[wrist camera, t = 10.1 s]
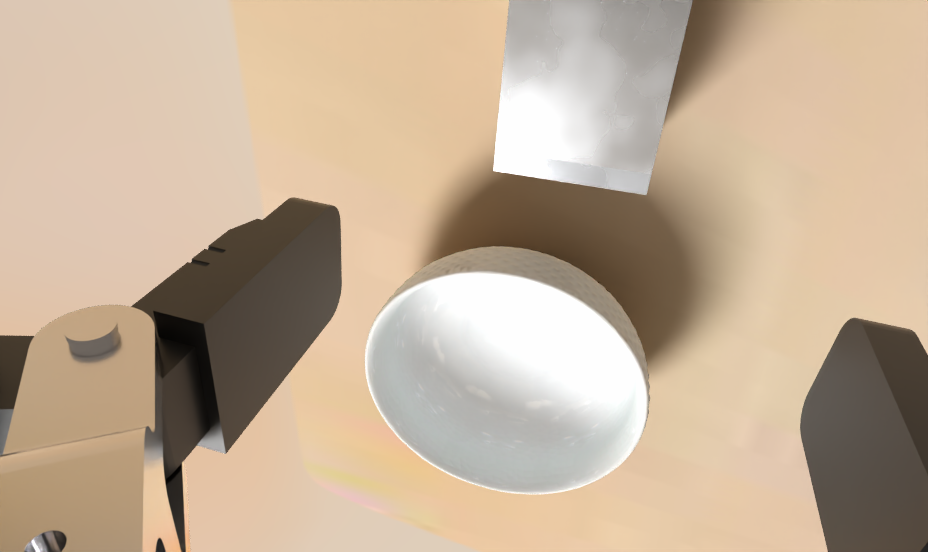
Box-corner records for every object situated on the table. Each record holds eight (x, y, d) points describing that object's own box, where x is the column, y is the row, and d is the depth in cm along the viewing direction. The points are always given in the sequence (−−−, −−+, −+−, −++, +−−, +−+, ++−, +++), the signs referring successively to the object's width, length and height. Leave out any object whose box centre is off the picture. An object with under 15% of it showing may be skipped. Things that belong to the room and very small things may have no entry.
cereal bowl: (670, 230, 37) (674, 296, 31) (631, 437, 46) (628, 519, 40) (392, 200, 41) (348, 254, 35) (405, 398, 49) (372, 467, 43)
